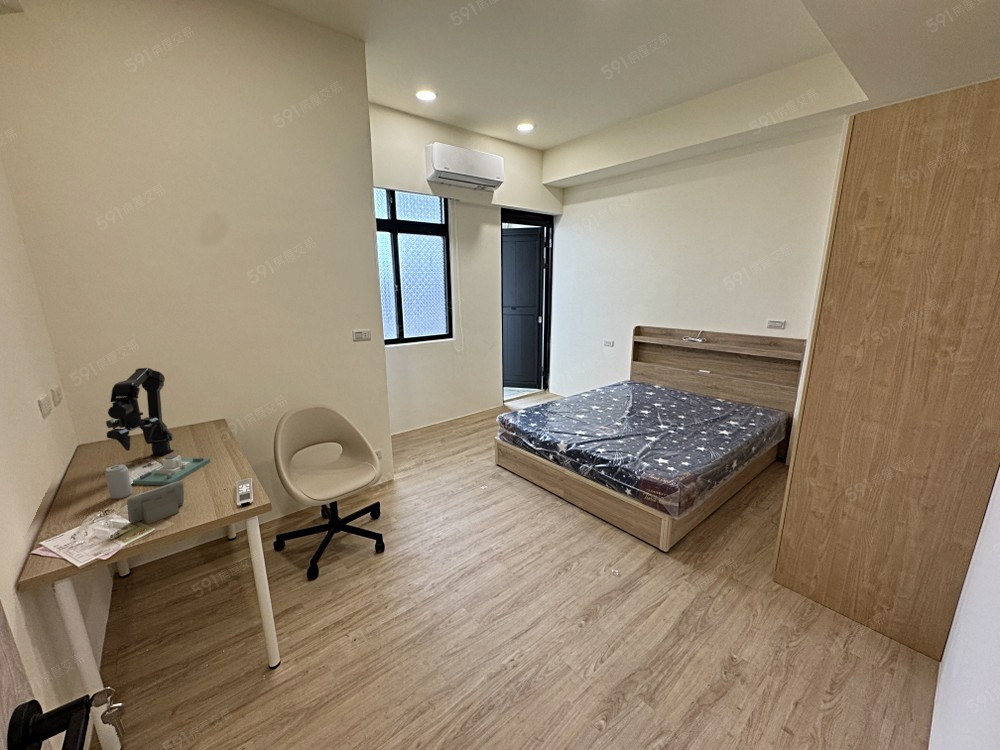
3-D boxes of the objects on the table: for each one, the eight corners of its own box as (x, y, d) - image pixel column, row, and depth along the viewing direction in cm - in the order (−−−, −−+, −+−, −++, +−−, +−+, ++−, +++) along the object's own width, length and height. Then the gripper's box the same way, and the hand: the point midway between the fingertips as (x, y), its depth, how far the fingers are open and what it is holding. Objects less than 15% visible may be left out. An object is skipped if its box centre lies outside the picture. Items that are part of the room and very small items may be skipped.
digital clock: (185, 501, 153) (180, 476, 151) (190, 511, 147) (185, 484, 145) (128, 519, 142) (122, 492, 140) (131, 530, 136) (124, 501, 134)
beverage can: (129, 490, 162) (123, 462, 159) (135, 494, 158) (129, 466, 156) (108, 497, 156) (101, 468, 154) (114, 501, 153) (107, 472, 150)
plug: (173, 470, 179) (170, 454, 177) (185, 470, 179) (182, 454, 177) (164, 474, 175) (161, 458, 173) (177, 474, 174) (174, 459, 173)
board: (177, 461, 188) (175, 454, 187) (210, 461, 187) (209, 455, 186) (133, 484, 166) (131, 476, 166) (171, 485, 166) (169, 477, 165)
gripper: (132, 404, 180) (139, 437, 184) (89, 418, 162) (98, 454, 166) (156, 405, 180) (163, 438, 183) (116, 419, 162) (124, 455, 165)
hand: (137, 446), depth 174 cm, fingers open, 9 cm apart
